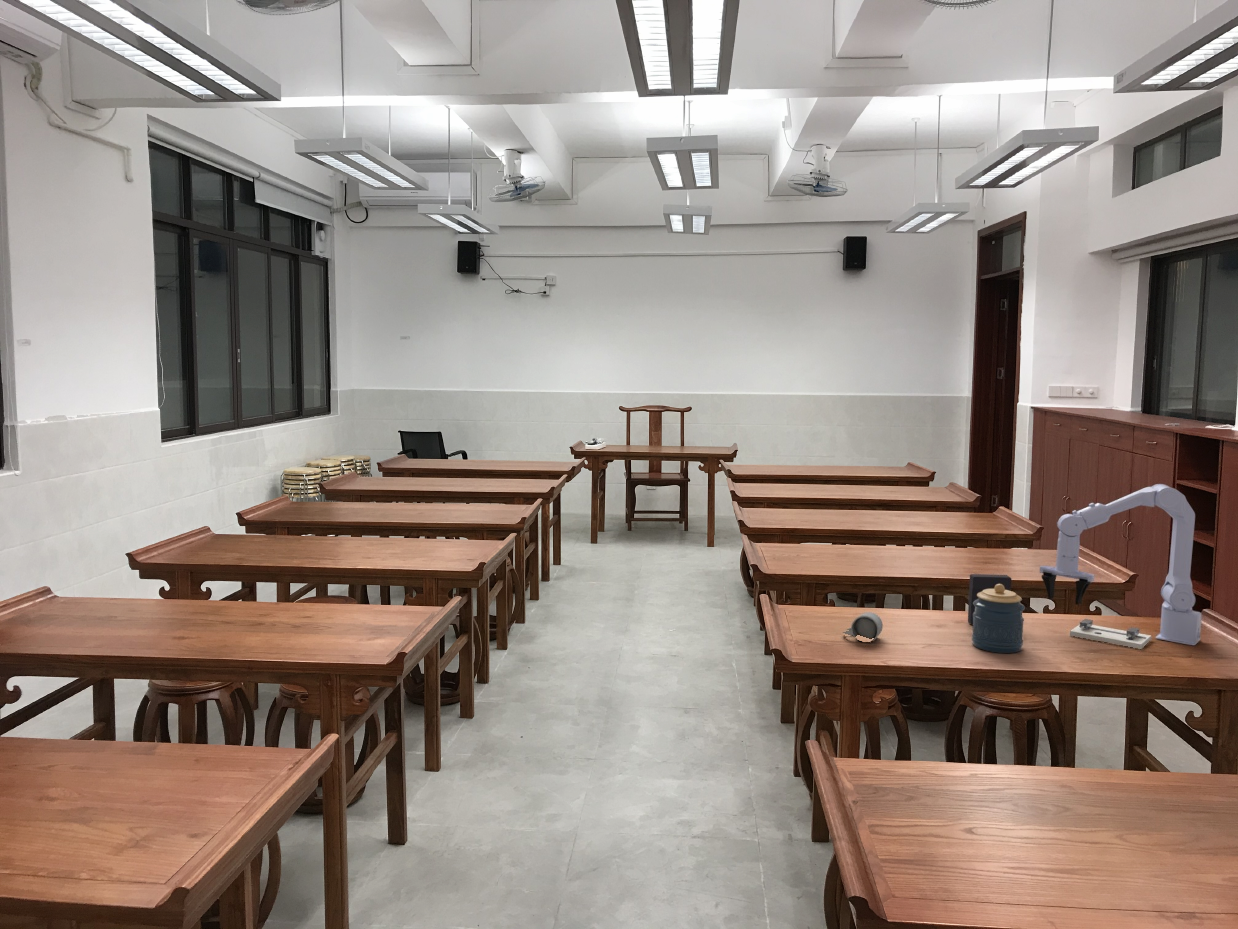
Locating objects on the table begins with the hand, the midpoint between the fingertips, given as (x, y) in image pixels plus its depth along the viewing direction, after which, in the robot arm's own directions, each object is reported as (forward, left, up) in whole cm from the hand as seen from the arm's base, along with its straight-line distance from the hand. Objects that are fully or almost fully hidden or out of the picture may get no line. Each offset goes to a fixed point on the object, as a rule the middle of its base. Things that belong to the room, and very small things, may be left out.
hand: (1064, 601), depth 256 cm
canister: (+8, +30, -9) cm, 32 cm away
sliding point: (-6, 0, -7) cm, 9 cm away
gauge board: (-12, 0, -9) cm, 15 cm away
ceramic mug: (+38, +49, -9) cm, 63 cm away
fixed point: (-18, 0, -7) cm, 19 cm away
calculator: (+18, +10, -9) cm, 22 cm away
